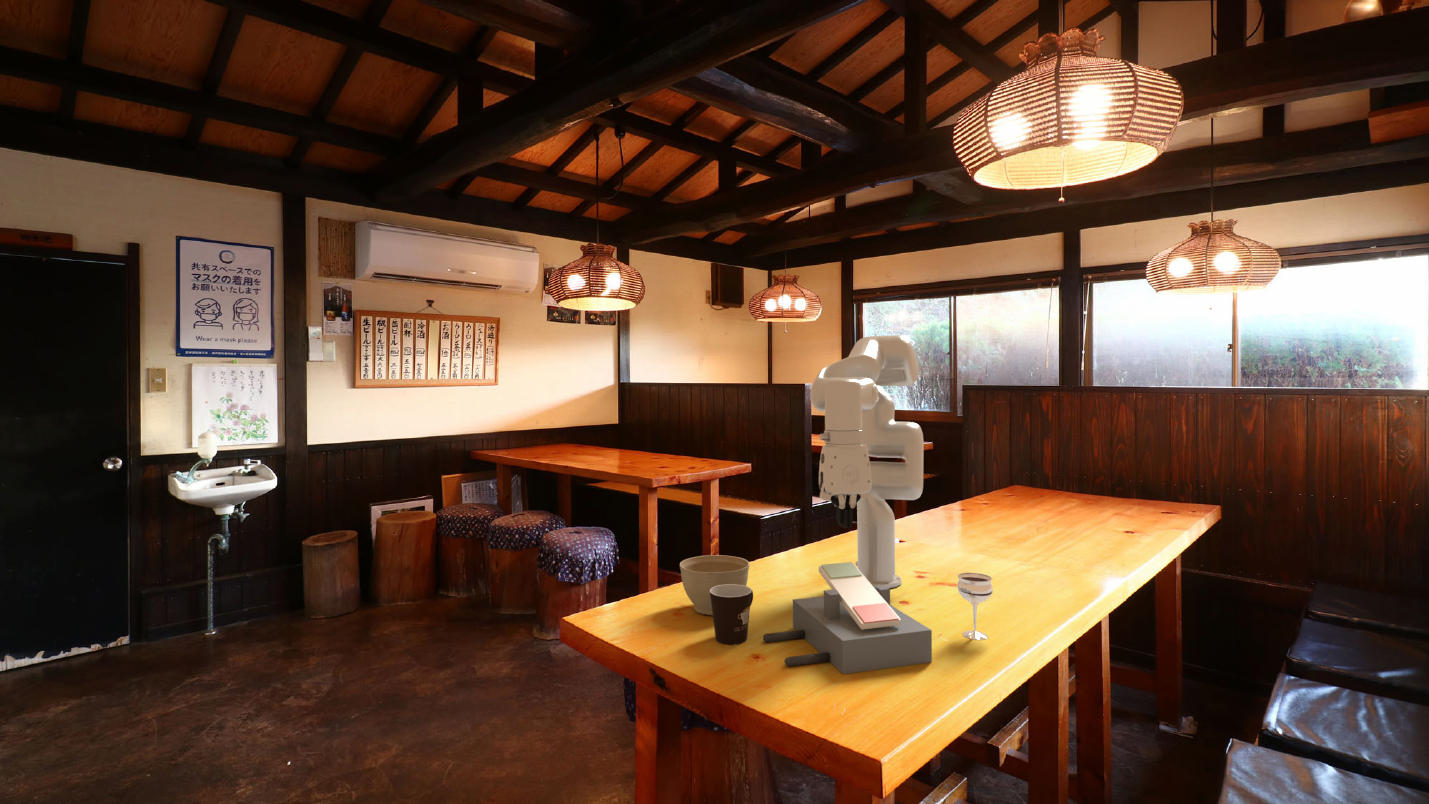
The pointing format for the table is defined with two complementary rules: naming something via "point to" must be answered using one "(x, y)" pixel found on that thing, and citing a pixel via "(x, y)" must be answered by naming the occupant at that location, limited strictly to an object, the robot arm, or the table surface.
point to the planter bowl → (711, 577)
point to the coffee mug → (731, 612)
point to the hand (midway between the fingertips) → (844, 526)
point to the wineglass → (975, 596)
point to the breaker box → (854, 636)
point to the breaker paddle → (859, 596)
